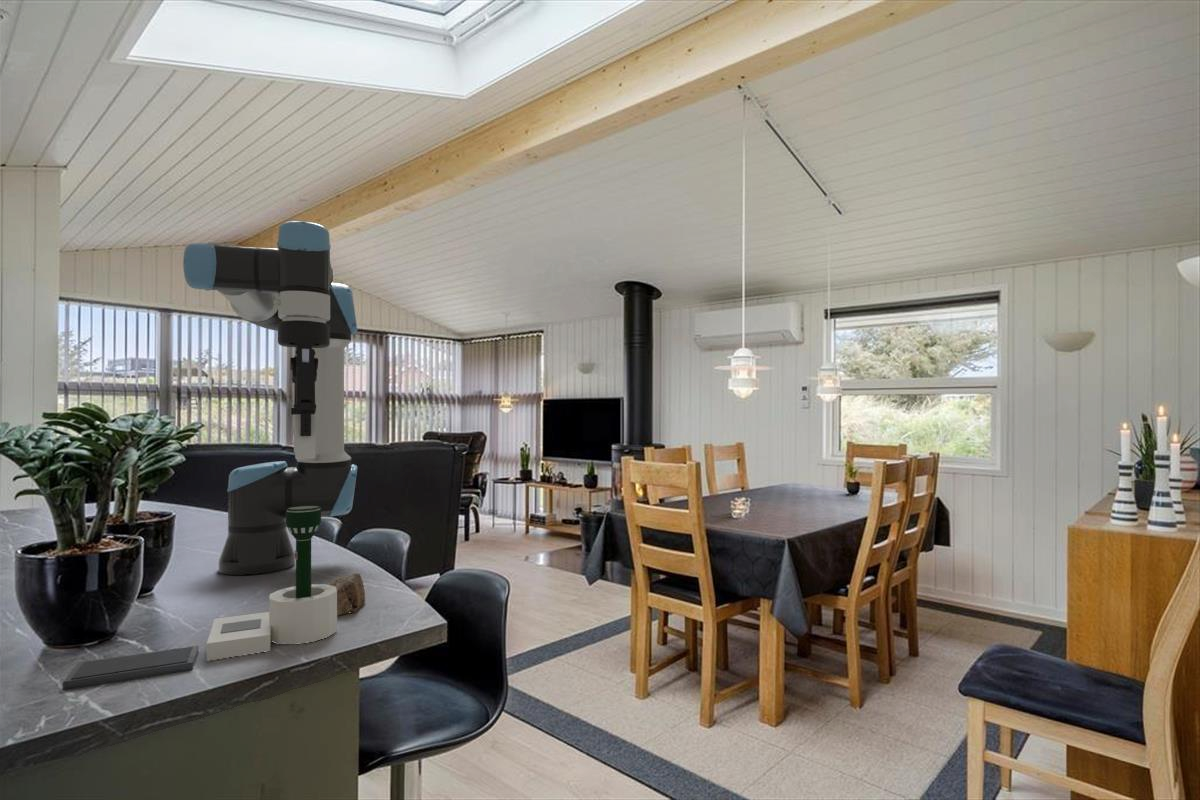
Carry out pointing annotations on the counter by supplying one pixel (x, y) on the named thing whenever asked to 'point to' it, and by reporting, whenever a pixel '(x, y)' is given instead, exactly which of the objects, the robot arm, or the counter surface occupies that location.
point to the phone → (131, 667)
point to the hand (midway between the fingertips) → (303, 455)
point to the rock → (349, 593)
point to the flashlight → (303, 542)
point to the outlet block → (276, 623)
